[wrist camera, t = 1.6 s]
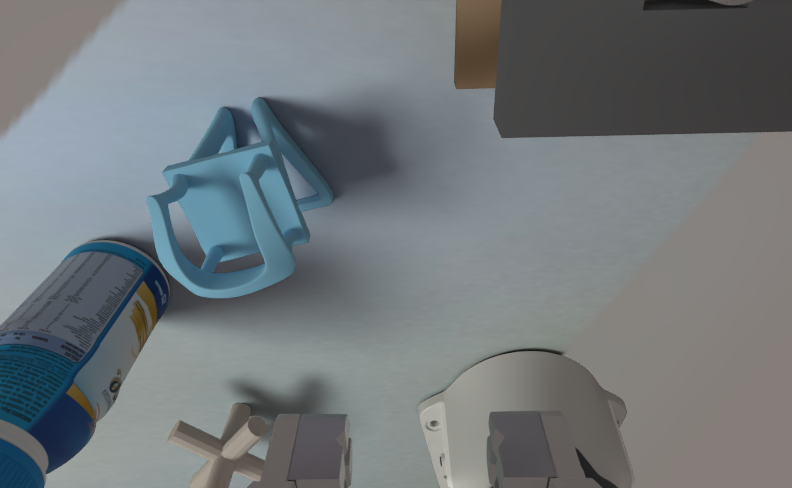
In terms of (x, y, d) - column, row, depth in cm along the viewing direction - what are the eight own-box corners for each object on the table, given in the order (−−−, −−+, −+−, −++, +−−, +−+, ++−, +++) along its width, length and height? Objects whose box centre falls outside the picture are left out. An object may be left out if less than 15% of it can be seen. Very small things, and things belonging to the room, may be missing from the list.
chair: (295, 87, 35) (252, 161, 25) (335, 198, 39) (312, 301, 29) (185, 116, 36) (101, 199, 26) (236, 222, 40) (180, 329, 30)
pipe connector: (315, 404, 51) (298, 505, 42) (259, 458, 55) (233, 559, 46) (220, 353, 47) (181, 451, 39) (168, 414, 51) (122, 515, 43)
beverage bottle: (119, 216, 40) (-86, 444, 23) (196, 296, 44) (68, 541, 27) (41, 264, 43) (-199, 503, 26) (120, 335, 46) (-42, 584, 29)
